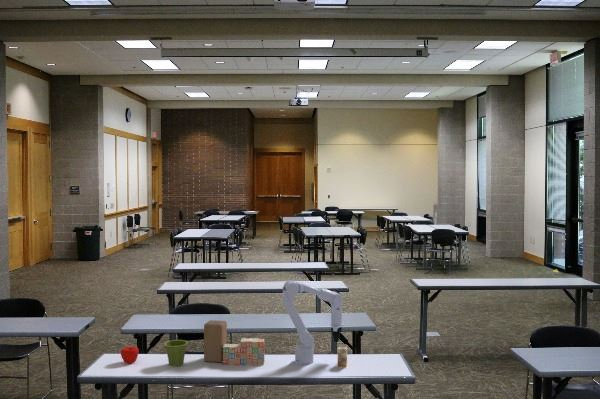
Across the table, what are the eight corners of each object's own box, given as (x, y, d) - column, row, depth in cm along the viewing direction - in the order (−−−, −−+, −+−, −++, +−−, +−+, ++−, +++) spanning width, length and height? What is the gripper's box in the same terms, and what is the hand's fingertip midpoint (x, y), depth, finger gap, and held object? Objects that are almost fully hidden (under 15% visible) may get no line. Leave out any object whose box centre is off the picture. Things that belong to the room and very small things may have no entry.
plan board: (319, 372, 283) (319, 371, 283) (322, 363, 299) (322, 362, 299) (347, 374, 281) (347, 373, 281) (349, 364, 296) (349, 363, 296)
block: (203, 362, 300) (203, 324, 300) (209, 356, 310) (209, 319, 310) (221, 363, 299) (221, 324, 298) (227, 357, 309) (227, 320, 308)
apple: (121, 366, 293) (121, 350, 293) (119, 361, 301) (119, 346, 301) (139, 363, 297) (139, 348, 297) (137, 359, 305) (137, 344, 305)
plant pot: (163, 362, 300) (163, 340, 299) (186, 360, 303) (186, 339, 303) (165, 369, 288) (165, 346, 288) (189, 366, 292) (189, 344, 292)
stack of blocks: (222, 364, 296) (222, 341, 296) (224, 361, 302) (224, 338, 302) (263, 365, 296) (263, 341, 296) (264, 361, 302) (264, 338, 302)
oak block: (337, 366, 291) (337, 357, 291) (338, 364, 296) (338, 355, 296) (346, 367, 290) (346, 358, 290) (347, 364, 295) (347, 355, 295)
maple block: (337, 357, 291) (337, 349, 291) (338, 355, 295) (338, 346, 295) (346, 358, 290) (346, 349, 290) (347, 355, 295) (347, 347, 295)
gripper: (342, 319, 294) (342, 345, 295) (345, 313, 309) (345, 338, 309) (329, 318, 295) (329, 345, 296) (332, 312, 310) (332, 337, 310)
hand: (336, 341), depth 302 cm, fingers closed
